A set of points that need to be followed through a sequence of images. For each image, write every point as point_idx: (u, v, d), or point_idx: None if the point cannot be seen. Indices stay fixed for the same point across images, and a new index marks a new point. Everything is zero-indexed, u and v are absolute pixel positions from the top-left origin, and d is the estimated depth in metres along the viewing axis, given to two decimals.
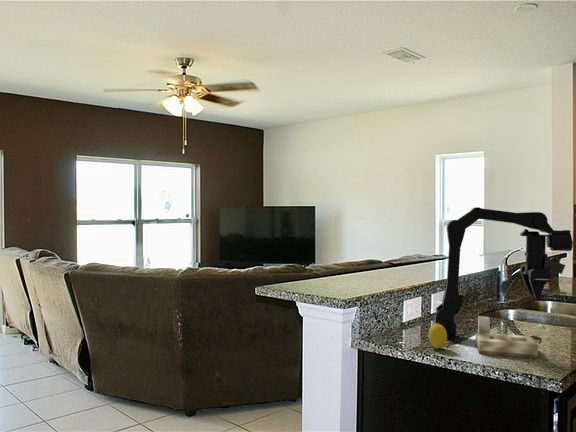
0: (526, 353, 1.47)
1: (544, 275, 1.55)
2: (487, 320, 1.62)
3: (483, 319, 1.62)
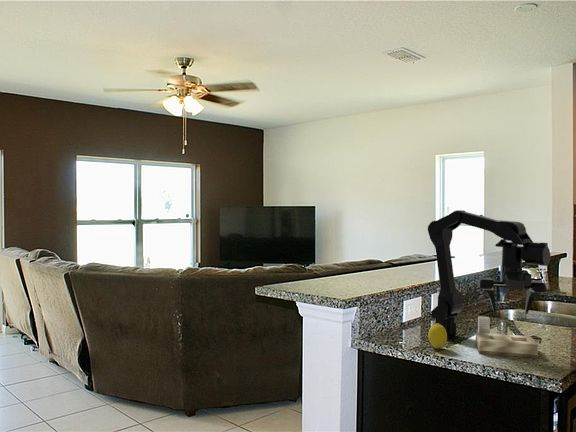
0: (526, 353, 1.47)
1: (479, 283, 1.56)
2: (487, 320, 1.62)
3: (483, 319, 1.62)
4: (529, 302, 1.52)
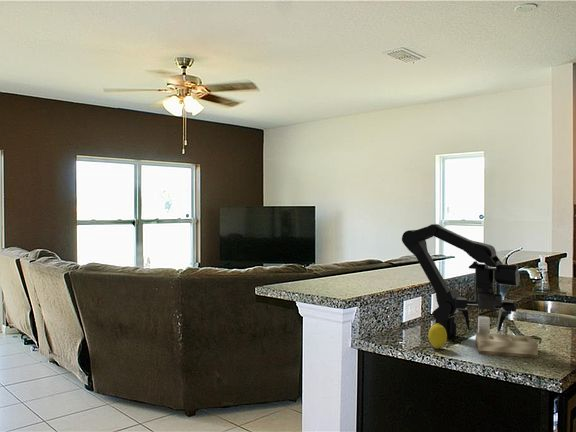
0: (526, 353, 1.47)
1: (454, 303, 1.66)
2: (487, 320, 1.62)
3: (483, 319, 1.62)
4: (501, 321, 1.61)
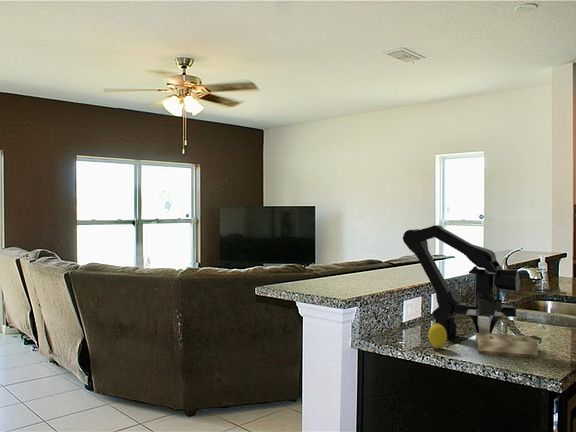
0: (526, 353, 1.47)
1: (454, 308, 1.66)
2: (487, 320, 1.62)
3: (483, 319, 1.62)
4: (491, 325, 1.62)
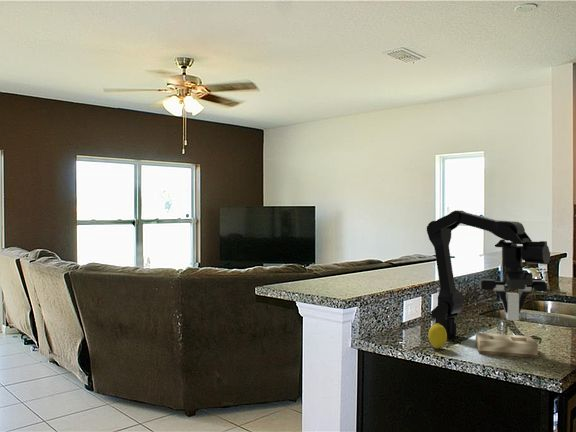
0: (526, 353, 1.47)
1: (480, 284, 1.56)
2: (516, 296, 1.53)
3: (512, 295, 1.53)
4: (521, 301, 1.53)
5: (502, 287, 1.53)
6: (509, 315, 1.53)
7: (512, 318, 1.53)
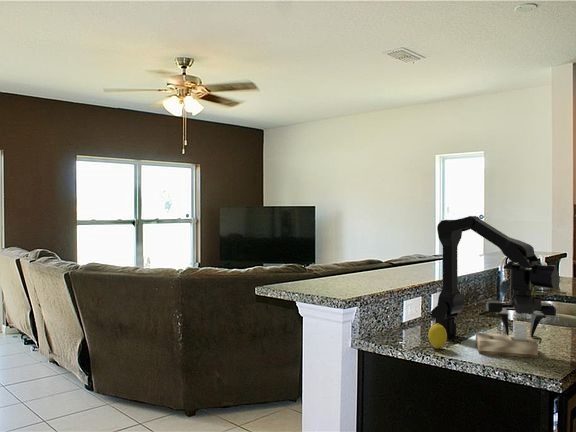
0: (526, 353, 1.47)
1: (487, 306, 1.54)
2: (524, 326, 1.50)
3: (519, 325, 1.51)
4: (534, 325, 1.50)
5: None
6: None
7: None
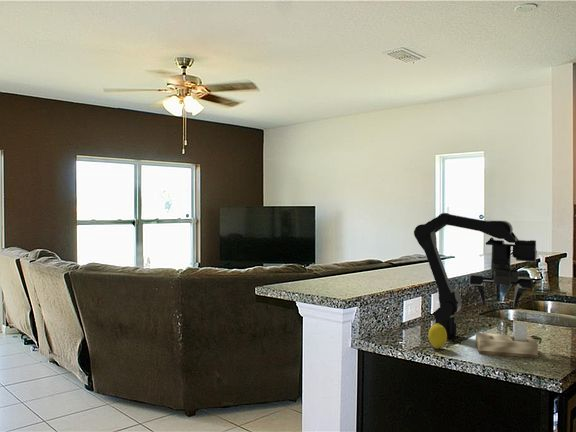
0: (526, 353, 1.47)
1: (469, 279, 1.65)
2: (524, 326, 1.50)
3: (519, 325, 1.51)
4: (517, 297, 1.60)
5: None
6: None
7: None
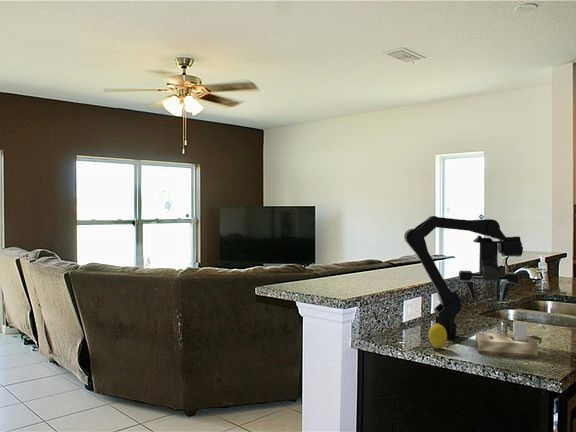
0: (526, 353, 1.47)
1: (459, 275, 1.72)
2: (524, 326, 1.50)
3: (519, 325, 1.51)
4: (504, 292, 1.68)
5: None
6: None
7: None
